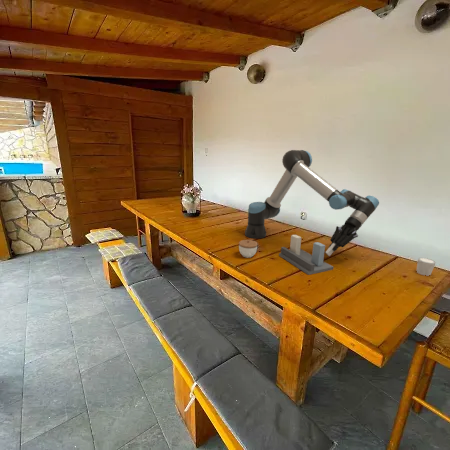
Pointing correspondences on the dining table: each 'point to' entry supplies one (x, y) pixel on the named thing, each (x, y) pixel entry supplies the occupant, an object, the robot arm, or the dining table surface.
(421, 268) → the beige cylinder
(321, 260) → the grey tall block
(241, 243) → the lidded jar
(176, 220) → the dining table surface
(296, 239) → the cream key
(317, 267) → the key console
